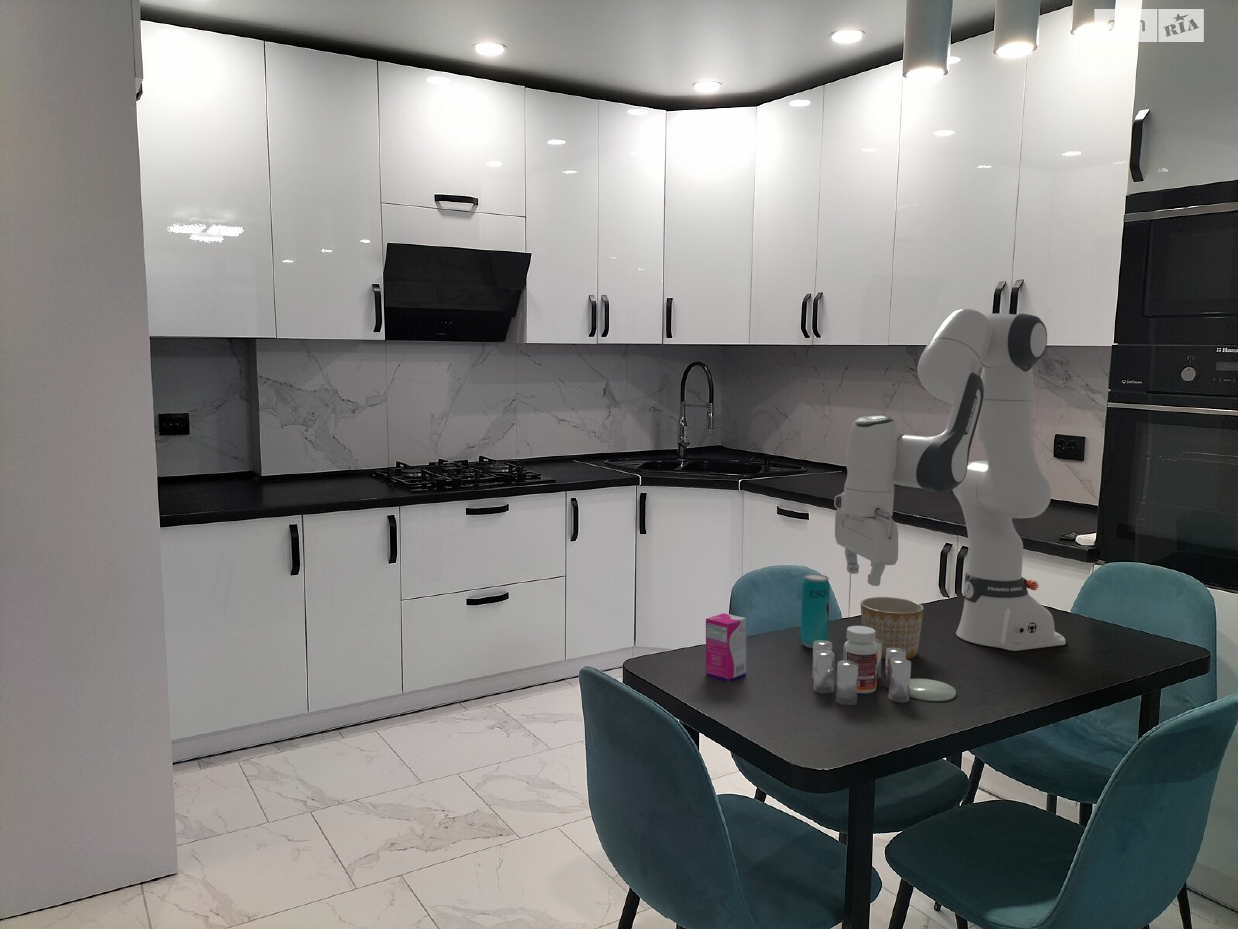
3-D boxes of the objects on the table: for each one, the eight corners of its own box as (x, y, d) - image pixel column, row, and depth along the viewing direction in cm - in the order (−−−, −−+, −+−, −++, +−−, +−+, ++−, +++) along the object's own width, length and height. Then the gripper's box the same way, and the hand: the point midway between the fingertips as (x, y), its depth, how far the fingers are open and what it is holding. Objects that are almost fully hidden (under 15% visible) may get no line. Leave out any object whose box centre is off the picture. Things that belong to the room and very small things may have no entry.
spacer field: (885, 672, 178) (886, 637, 177) (923, 701, 162) (925, 664, 162) (799, 676, 175) (800, 641, 174) (830, 706, 160) (831, 668, 159)
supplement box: (722, 668, 179) (724, 612, 178) (746, 675, 175) (748, 618, 174) (704, 675, 175) (705, 617, 174) (728, 683, 171) (729, 624, 170)
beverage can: (830, 649, 192) (832, 580, 190) (803, 649, 192) (805, 580, 190) (824, 641, 197) (827, 574, 196) (798, 640, 197) (800, 573, 196)
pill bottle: (882, 693, 167) (885, 633, 165) (851, 695, 165) (854, 635, 164) (866, 681, 173) (868, 624, 171) (836, 684, 171) (838, 625, 170)
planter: (932, 653, 190) (934, 605, 188) (902, 667, 181) (904, 616, 180) (878, 640, 199) (880, 593, 197) (847, 652, 190) (848, 604, 189)
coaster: (938, 680, 173) (939, 677, 173) (966, 699, 164) (966, 696, 163) (889, 683, 172) (889, 679, 172) (914, 702, 162) (914, 699, 162)
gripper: (910, 514, 155) (904, 593, 157) (861, 497, 176) (856, 566, 177) (875, 513, 155) (870, 592, 156) (830, 496, 175) (826, 566, 176)
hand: (862, 578), depth 167 cm, fingers open, 8 cm apart
